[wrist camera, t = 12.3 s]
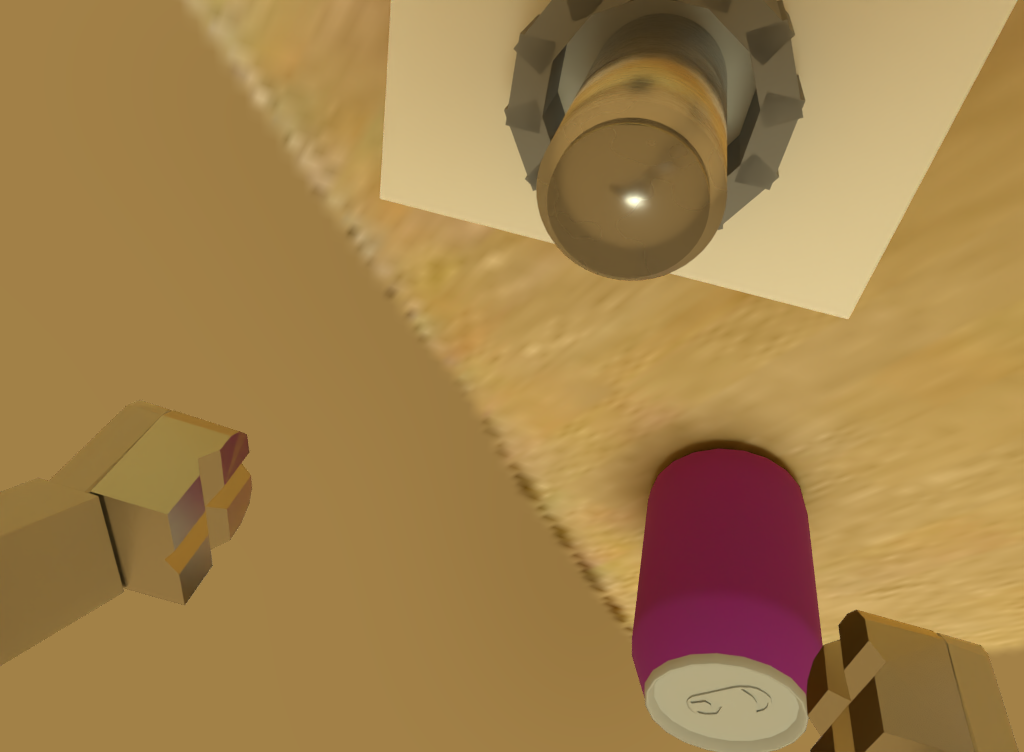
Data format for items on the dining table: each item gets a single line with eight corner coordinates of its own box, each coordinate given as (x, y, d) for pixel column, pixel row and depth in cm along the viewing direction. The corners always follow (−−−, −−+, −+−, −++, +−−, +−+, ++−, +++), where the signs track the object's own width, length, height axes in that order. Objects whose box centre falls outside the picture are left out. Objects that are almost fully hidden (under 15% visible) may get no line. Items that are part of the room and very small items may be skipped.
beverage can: (687, 558, 42) (675, 771, 33) (623, 461, 39) (591, 665, 30) (827, 527, 39) (859, 756, 29) (770, 418, 36) (785, 635, 26)
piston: (747, 31, 25) (757, 135, 17) (702, 166, 28) (691, 311, 20) (608, -2, 26) (551, 86, 17) (578, 135, 29) (517, 265, 20)
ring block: (1046, -79, 23) (1096, -62, 20) (845, 306, 31) (858, 361, 28) (413, -212, 24) (367, -216, 21) (388, 189, 33) (352, 229, 30)
